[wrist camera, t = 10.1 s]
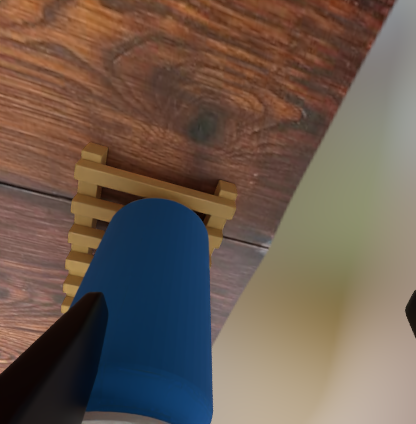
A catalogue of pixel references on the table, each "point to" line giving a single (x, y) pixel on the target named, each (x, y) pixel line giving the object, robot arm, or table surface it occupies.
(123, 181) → the rack
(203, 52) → the table surface
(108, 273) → the beverage can
